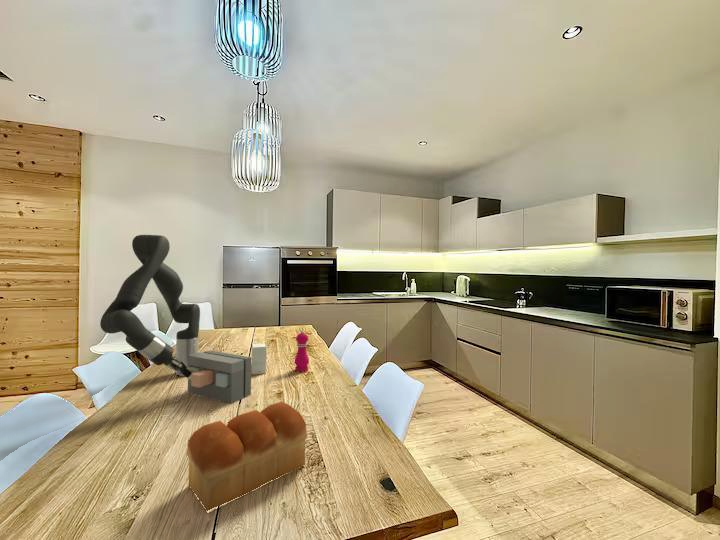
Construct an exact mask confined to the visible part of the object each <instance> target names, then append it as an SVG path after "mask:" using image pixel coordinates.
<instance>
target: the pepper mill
mask: <svg viewBox="0 0 720 540" xmlns="http://www.w3.org/2000/svg"><path fill="white" fill-rule="evenodd" d="M295 341H296V342H297V343H296V344H297V345H296V347H297V354H296V356H295V358H294V365H295V372H297V371H305V372H307V371H309V363H310V358H309V355H308V353H307V347H308V341H309V336H308V334H306V333H305V330H303V329H302V330H300V333H298V334H297V335H296V338H295ZM306 370H307V371H306Z"/></svg>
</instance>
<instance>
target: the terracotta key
mask: <svg viewBox="0 0 720 540" xmlns="http://www.w3.org/2000/svg"><path fill="white" fill-rule="evenodd" d="M213 382H214V370H211V369H206V370H202V371H199V372H196V373H193V374H191V386H195V387H199V388H200V387H202V386H205V385H208V384H211V383H213Z"/></svg>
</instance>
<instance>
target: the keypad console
mask: <svg viewBox="0 0 720 540" xmlns="http://www.w3.org/2000/svg"><path fill="white" fill-rule="evenodd" d="M192 366H196V367H200V371H202V370H206V369H211V370H214V382H213V383H211V384H208V385H205V386H202V387H200V388H199V387H195V386H191V380H189V379H187V393H188V392H189V393H188V394H191V393H192V395H195V394H196V396H199V395H200V397H203V398H207V399H211V400H216V401H218V402H224V403H226V404H227V403H228V404H230V405H231V404H234V403H236V402H238V401H241V400H242V399H244V398H247V397H248V396H251V395H252V356H247V355H239V354H234V353H227V352H222V351H215V350H210V349H209V350H208V349H207V350H204V351H203V352H202V351H201V352H198V353H196V354H193V355H189V356H188V368H189V367H192ZM220 372H225V373H229V386H227V387H220V386H216V374H217V373H220Z"/></svg>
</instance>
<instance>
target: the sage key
mask: <svg viewBox="0 0 720 540" xmlns="http://www.w3.org/2000/svg"><path fill="white" fill-rule="evenodd" d="M187 369H188V370H189V371H190V372H191V373H192V374H193V373H196V372H199V371H200V367H196V366H192V367H189V368H187ZM186 379H187V380H188V379H189V380H191V375H190V376H189V377H186Z"/></svg>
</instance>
